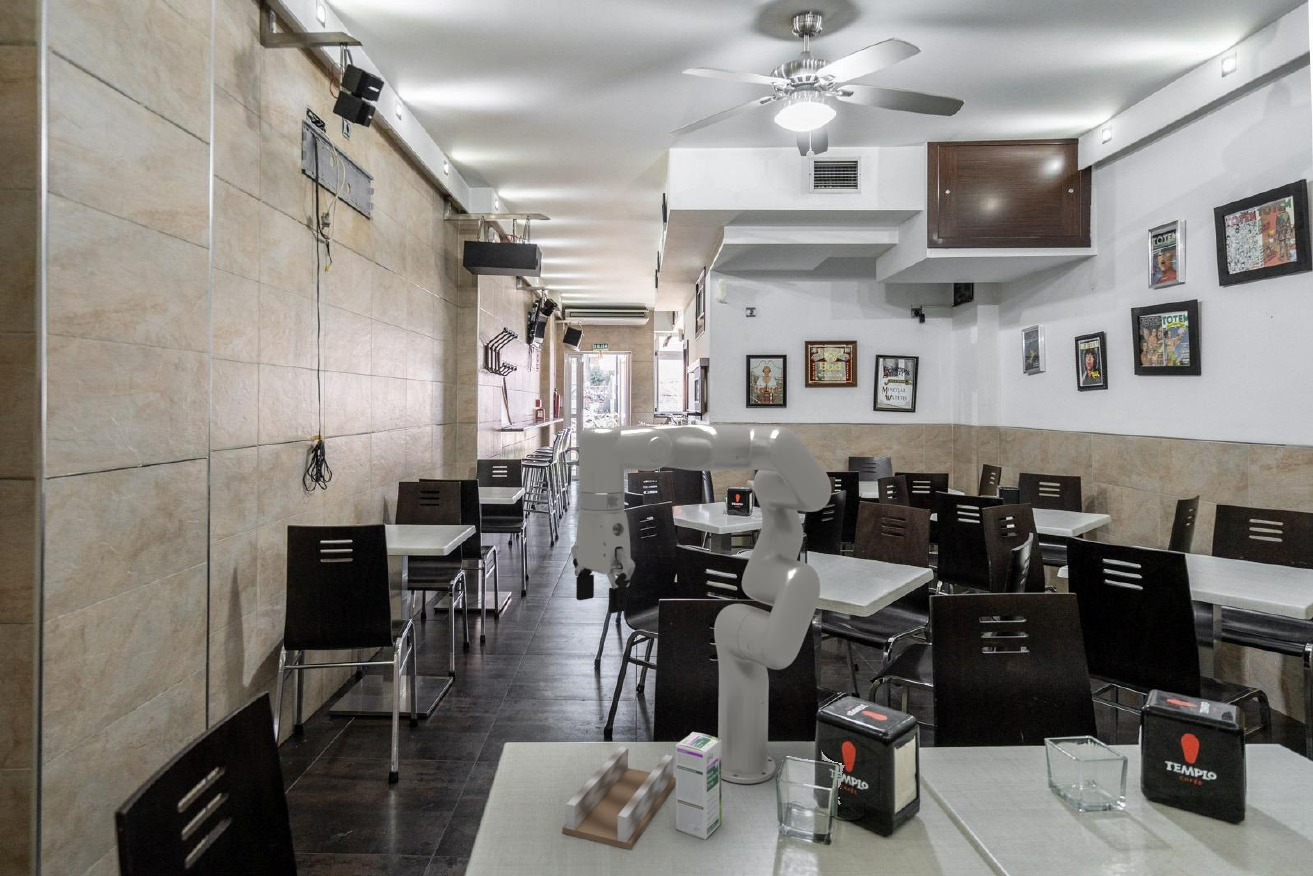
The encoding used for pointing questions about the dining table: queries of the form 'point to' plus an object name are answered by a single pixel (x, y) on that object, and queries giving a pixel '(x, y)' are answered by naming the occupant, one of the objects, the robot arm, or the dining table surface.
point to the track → (618, 801)
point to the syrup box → (698, 785)
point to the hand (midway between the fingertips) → (601, 605)
